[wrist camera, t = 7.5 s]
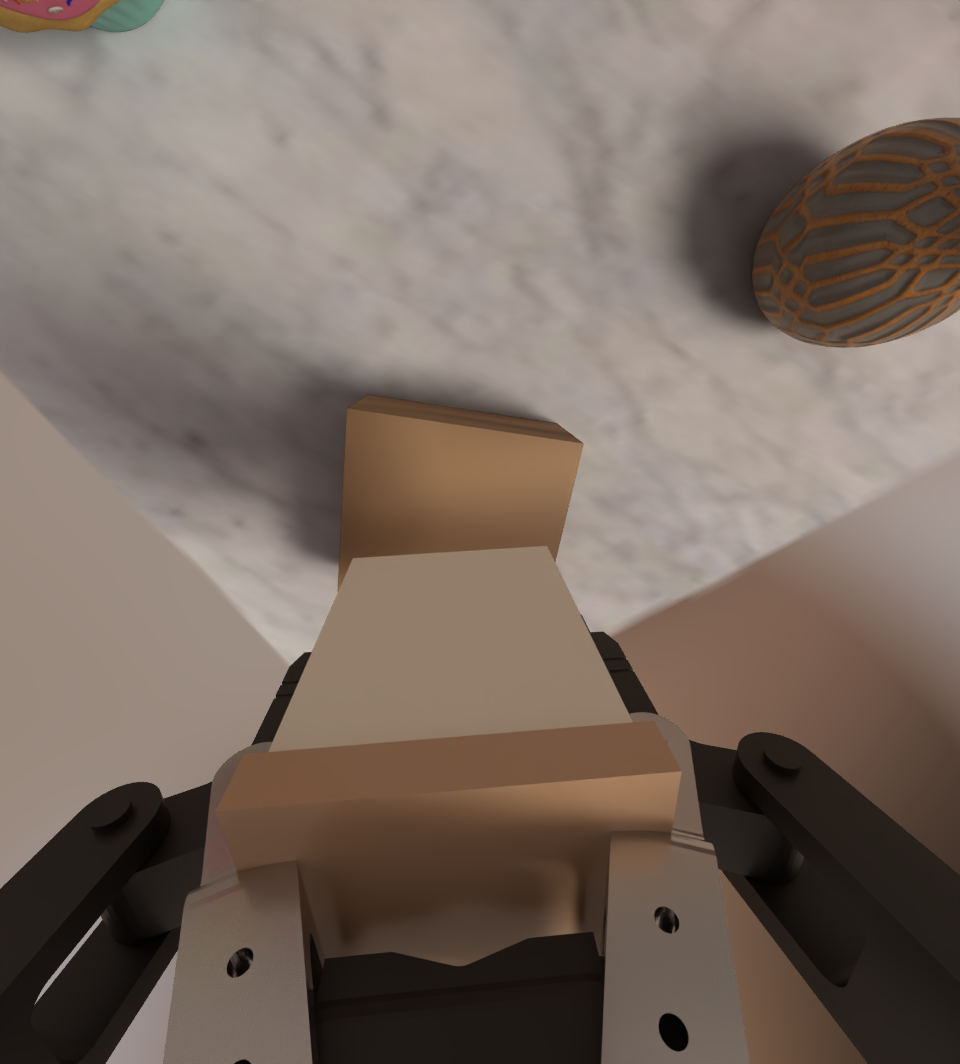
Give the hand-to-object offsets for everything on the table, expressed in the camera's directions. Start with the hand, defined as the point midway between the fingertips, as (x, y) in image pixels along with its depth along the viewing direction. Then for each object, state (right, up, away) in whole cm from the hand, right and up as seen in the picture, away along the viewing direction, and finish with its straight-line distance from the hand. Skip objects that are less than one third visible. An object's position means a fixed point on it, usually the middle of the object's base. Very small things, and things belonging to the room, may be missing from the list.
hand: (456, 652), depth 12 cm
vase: (+15, +15, +9) cm, 23 cm away
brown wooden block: (-1, +5, +12) cm, 13 cm away
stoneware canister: (0, 0, +1) cm, 1 cm away
